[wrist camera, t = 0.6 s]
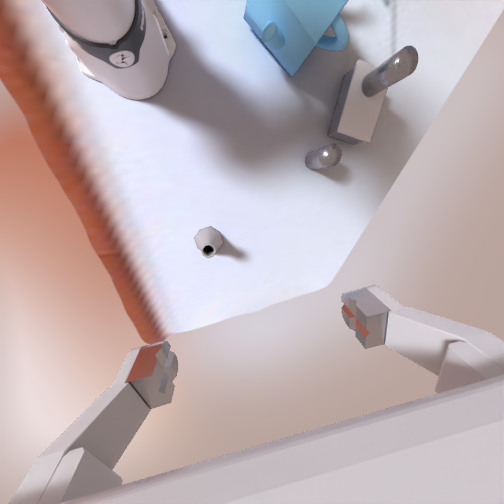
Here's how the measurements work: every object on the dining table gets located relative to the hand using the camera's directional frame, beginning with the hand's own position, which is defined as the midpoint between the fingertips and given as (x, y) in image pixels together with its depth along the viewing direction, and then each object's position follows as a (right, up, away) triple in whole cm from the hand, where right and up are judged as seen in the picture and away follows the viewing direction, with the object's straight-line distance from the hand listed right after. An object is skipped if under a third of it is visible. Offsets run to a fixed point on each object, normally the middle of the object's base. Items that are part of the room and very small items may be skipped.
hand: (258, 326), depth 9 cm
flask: (-12, +7, +44) cm, 46 cm away
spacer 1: (+16, +27, +43) cm, 54 cm away
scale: (+24, +39, +41) cm, 62 cm away
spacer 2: (+26, +41, +35) cm, 60 cm away
